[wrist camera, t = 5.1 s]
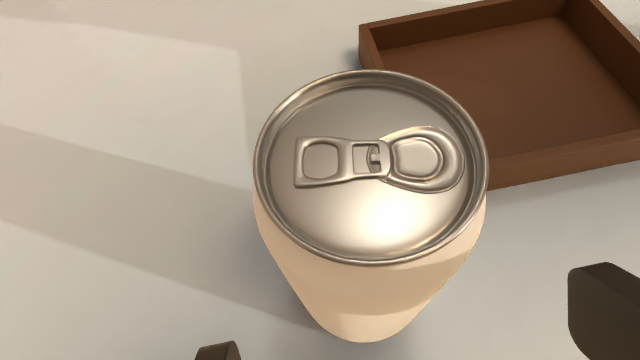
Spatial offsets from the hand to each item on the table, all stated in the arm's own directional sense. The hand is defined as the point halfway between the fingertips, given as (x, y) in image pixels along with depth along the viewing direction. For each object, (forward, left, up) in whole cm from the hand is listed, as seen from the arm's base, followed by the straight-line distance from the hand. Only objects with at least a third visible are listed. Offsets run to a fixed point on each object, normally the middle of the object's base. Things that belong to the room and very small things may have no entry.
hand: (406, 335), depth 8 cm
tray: (-12, -14, -10) cm, 21 cm away
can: (0, -4, -10) cm, 11 cm away
